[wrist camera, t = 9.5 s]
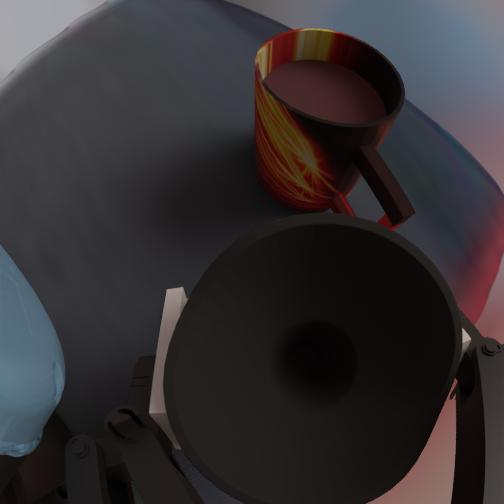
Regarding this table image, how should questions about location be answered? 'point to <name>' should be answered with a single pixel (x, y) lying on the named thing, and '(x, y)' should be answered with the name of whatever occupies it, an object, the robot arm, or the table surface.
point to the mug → (326, 122)
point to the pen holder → (312, 362)
